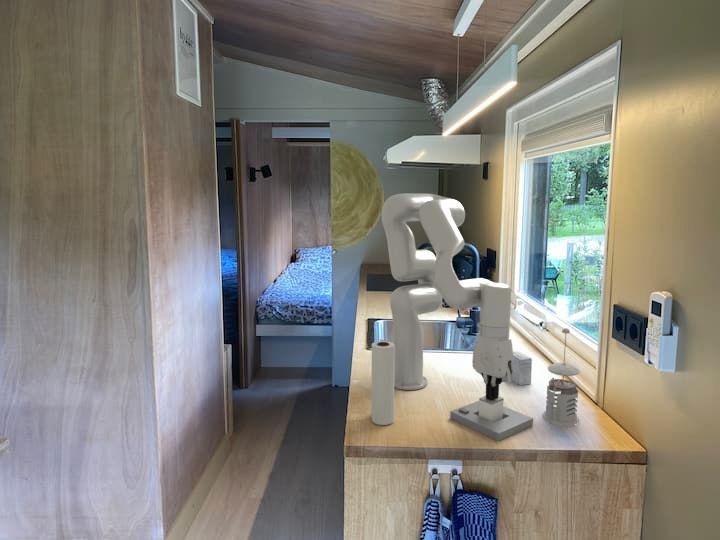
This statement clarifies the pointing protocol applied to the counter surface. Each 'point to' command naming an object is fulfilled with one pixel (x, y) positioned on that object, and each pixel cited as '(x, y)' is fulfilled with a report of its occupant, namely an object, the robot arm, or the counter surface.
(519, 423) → the socket plate
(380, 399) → the paper towel roll
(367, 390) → the counter surface
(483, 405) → the plug
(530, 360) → the medicine box
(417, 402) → the counter surface
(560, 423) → the french press
